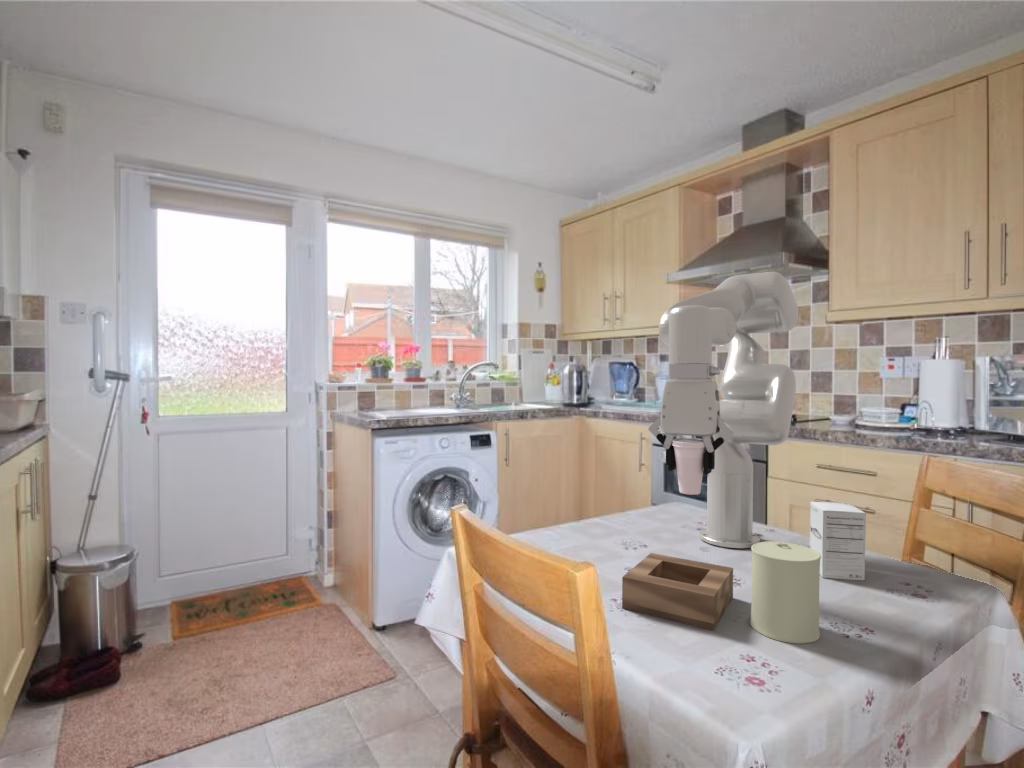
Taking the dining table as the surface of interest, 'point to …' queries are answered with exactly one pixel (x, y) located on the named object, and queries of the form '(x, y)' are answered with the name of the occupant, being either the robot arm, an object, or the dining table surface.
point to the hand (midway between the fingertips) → (689, 470)
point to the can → (785, 592)
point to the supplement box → (838, 539)
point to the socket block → (678, 590)
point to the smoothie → (689, 464)
